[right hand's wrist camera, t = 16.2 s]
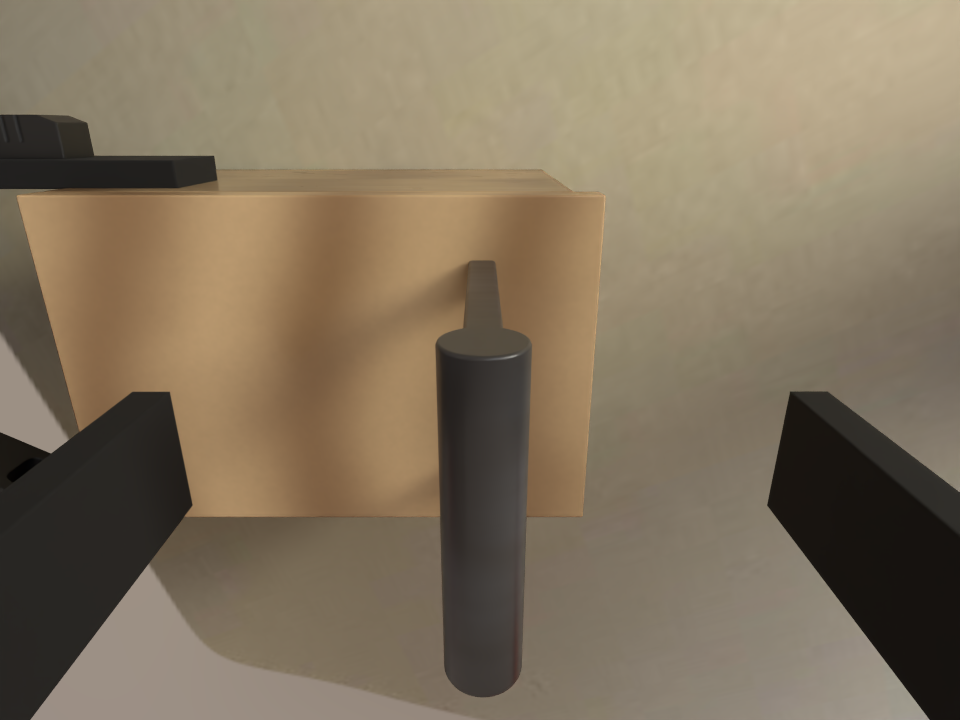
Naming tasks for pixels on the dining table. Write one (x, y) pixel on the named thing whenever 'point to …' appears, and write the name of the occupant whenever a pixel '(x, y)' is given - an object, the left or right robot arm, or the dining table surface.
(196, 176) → the left robot arm
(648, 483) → the dining table surface
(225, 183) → the chest
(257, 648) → the dining table surface
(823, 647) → the dining table surface
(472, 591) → the lid
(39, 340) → the dining table surface
